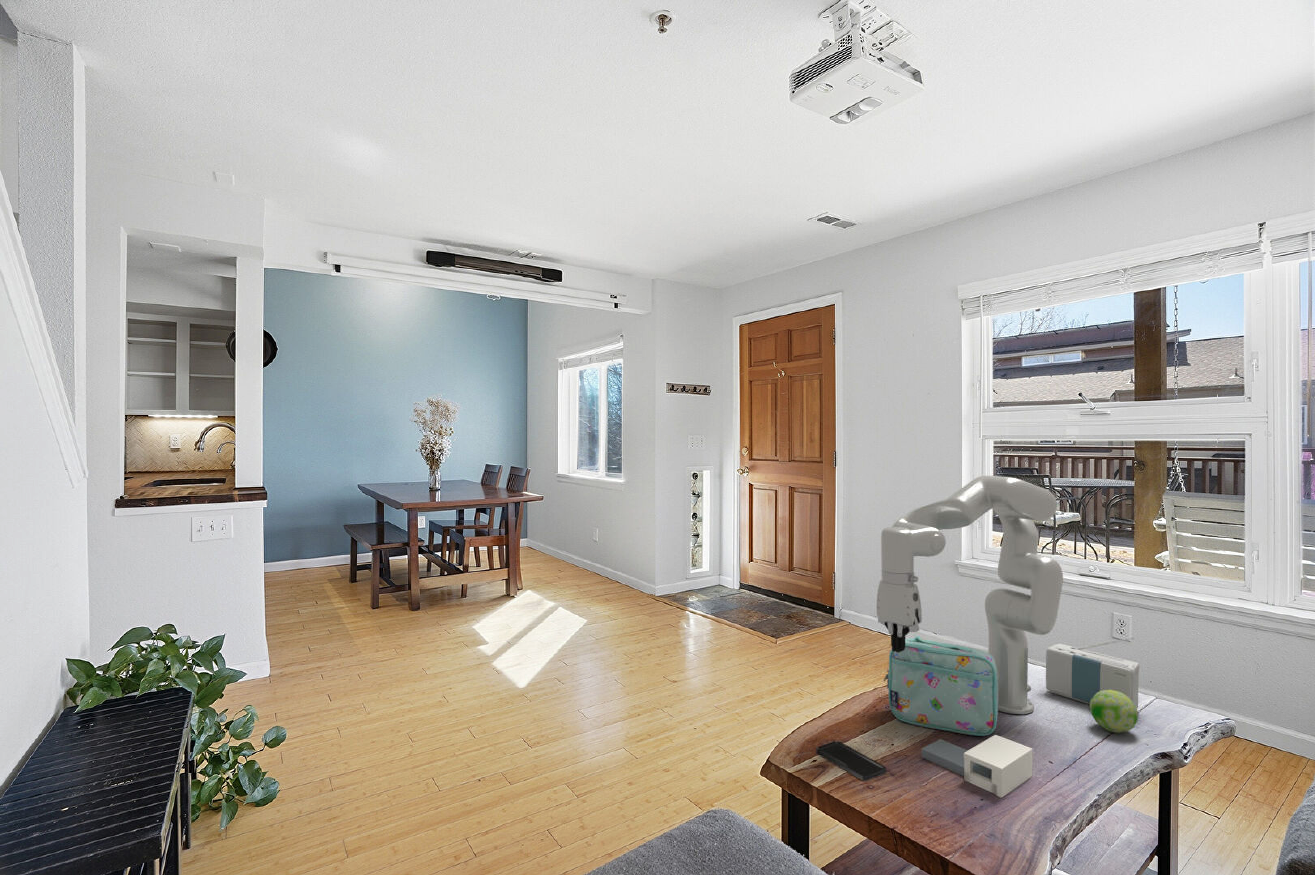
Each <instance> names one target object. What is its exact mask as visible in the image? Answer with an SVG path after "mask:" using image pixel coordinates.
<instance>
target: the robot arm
mask: <svg viewBox="0 0 1315 875" xmlns="http://www.w3.org/2000/svg"><path fill="white" fill-rule="evenodd" d="M1057 508H1058V503H1057V499H1056V497H1055V495H1054V494H1053V493H1052V492H1051V491H1050V490H1049V489H1046V488H1044V487H1040V486H1039V485H1037V484H1036V485H1035V484H1033V483H1030V482H1027V481H1025V480H1023V479H1019V478H1015V477H1011V476H1010V477H1009V476H996V475H981V476H978V477H976V478H973V479H972V480H971V481H970V482H968V483H966V484H965V485H964V486H962V487H961V488H960V489H958V490H957V491H956V492H954V493H953V494H952V495H951V496H949V497H948V498H946V499H941V500H939V501H935V502H933V503H929V504H926V505H923V506H921V507H918V508H916V509H913V510H911V511H909V512H908V513H906V514H905V515H903V516H901V518H899V519H898V520H896V522H894V523H893V525H892V526H890V527H886V528H883V529H882V531H881V536H880V539H881V540H880V542H881V545H880V546H881V551H880V555H881V560H880V561H881V580H879V584H878V587H877V594H876V616H877V621H878V623H880V624H881V625H883V626H885V628H886V629H887V630H888V631H887V632H888V633H889V635H890V647H891V649H892V651H894V652H895V651H896V652H897V653H899V652H901V651H904V650H905V646H906V645H905V639H906V636H907V635H908V634H909V633H917V632H920V625H919V624H922V619H923V618H922V603H921V595H920V591H919V587H918V584H916V583H918V582H919V577H918V576H916V575H915V572H914V567H915V566H914V565H915V564H914V558H915V557H927V558H929V557H930V558H931V557H935V556H937V555H940V554H941V553H942V552H943V551H944V549H945V547H946V542H947V541H946V540H947V539H946V537H945V535H944V533H943V532H942V531H941V530H955V529H961V528H965V527H968V526H970V525H971V524H973V523H974V522H975V521H977V520H978V519H979V518H980V517H982V516H984V515H985V514H986V513H987V512H989V511H990V510H993V511H994V512H995V514H996V515H997V517H998V518H999V520H1000V522H1001V525H1002V529H1003V535H1002V543H1001V548H1000V554H999V558H998V559H999V560H998V565H997V574H998V577H999V579H1000V580H1001V581H1002V582H1004V583H1005V584H1008V585H1011V586H1014V587H1018V588H1021V589H1027V590H1030V594H1028V593H1024V592H1021V591H1016V590H1013V589H1008V588H994V589H993V590H991V591H989V593H988V594H987V595H986V597H985V600H984V610H985V616H986V621H987V628H988V630H987V631H988V645H987V646H988V649H987V650H988V652H987V653H989V654H990V655H991V656H992V657H993V658H994V660H995V662H996V667H997V675H998V712H1002V713H1006V714H1013V715H1027V714H1031V713H1032V712H1034V710H1035V705H1034V703H1033V702H1032V701H1031V700H1030V699H1028V693H1029V692H1031V690H1032V687H1031V686H1030V684H1028V678H1029V677H1028V672H1029V671H1028V669H1029V668H1028V667H1029V666H1028V665H1029V664H1028V663H1029V662H1028V661H1029V643H1028V638H1027V635H1026V633H1025V632H1028V633H1030V634H1031V633H1032V634H1034V635H1040V636H1043V635H1048V634H1049V633H1051V632H1052V630H1053V629H1054V627H1055V624H1056V622H1057V618H1058V612H1059V607H1060V600H1061V596H1062V590H1063V583H1064V574H1063V570H1062V567H1061V565H1060V564H1059V562H1058V561H1057V560H1055V559H1053V558H1051V557H1049V556H1045V555H1041V554H1040V555H1039V554H1038V548H1039V547H1038V545H1039V532H1038V529H1037V526H1036V525H1035V523H1034V521H1036V522H1037V521H1038V522H1045V521H1048V520H1050V519H1051V518H1053V516H1054V515H1055V514H1056V512H1057Z"/></svg>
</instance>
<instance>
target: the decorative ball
mask: <svg viewBox="0 0 1315 875" xmlns="http://www.w3.org/2000/svg"><path fill="white" fill-rule="evenodd" d="M1089 709H1090V714H1091V716H1092V718H1093V719H1094V722H1096V724H1097V725H1099V726H1100V727H1102V728H1103V729H1105V730H1106V731H1109V732H1112V733H1117V734H1119V733H1126V732H1129V731H1131V730H1133V729H1134V727H1136V724H1137V721H1138V719H1139V718H1138V717H1139V716H1138V715H1139V711H1138V708H1136V707H1135V705H1134V703H1133V702H1132V700H1130V698H1129V697H1127V696H1126V695H1125V694H1123V693H1121V692H1118V691H1114V690H1102V691H1100V692H1098V693H1096V694H1095V696H1094V697H1093V698H1092V699H1091V701H1090V704H1089Z"/></svg>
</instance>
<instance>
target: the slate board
mask: <svg viewBox="0 0 1315 875" xmlns="http://www.w3.org/2000/svg"><path fill="white" fill-rule="evenodd" d="M968 750H969V749H968ZM968 750H967V749H965V748H963V747H961V746H958V745H955V744H953V743H951V742H949V741H946V740H943V739H938V740H935V741H934V742H932V743H930V744H928V745H926V746H924V747H922V748H921V758H923V759H925V760H928V761H929V762H932V763H934V764H936V765H938V766H940V767H942V768H944V769H947V770H948V771H949V770H950V771H952V772H954V773H955V774H958V775H960V776H962V777H964V761H965V758H964V753H965V752H967V751H968ZM973 772H975V773H977V774H979V775H982V776H984V777H986V778H988V779H991V780H992V769H990V768H987V767H985V766H982V765H980V764H978V763H975V762H973Z"/></svg>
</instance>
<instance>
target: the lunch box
mask: <svg viewBox="0 0 1315 875" xmlns="http://www.w3.org/2000/svg"><path fill="white" fill-rule="evenodd" d="M905 645H906V646H905V650H904V651H901V652H899V653H897V652H896V651H895V652H894V651H892V648H891V649H890V650H889V655H888V669H887V673H886V674H885V676H884V679H883V682H887V683H886V686H887V687H886V689H888V702H889V708H890V711H891V713H892V714H893V715H894V717H895V718H897V719H898V720H899V721H902V722H905V723H908V724H909V725H910V724H911V725H915V726H919V727H924V728H928V729H935V730H940V731H945V732H946V731H947V732H951V733H958V734H961V735H962V734H963V735H969V736H978V737H979V736H981V737H982V736H988V735H989V736H990V735H991V734H993V733H994V732H995V729H996V728H997V723H998V716H999V714H998V713H999V711H998V675H997V667H996V662H995V660H994V658H993V657H992V656H991V655H990V654H989V653H988V652H987V651H984V650H982V649H978V648H975V647H974V648H973V647H969V646H964V645H959V644H953V643H947V642H942V641H937V640H929V639H923V638H921V637H920V635H915V637H914V638H912V637H911V638H910V637H909V638H908V637H907V638H906V637H905ZM886 680H887V681H886Z"/></svg>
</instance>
